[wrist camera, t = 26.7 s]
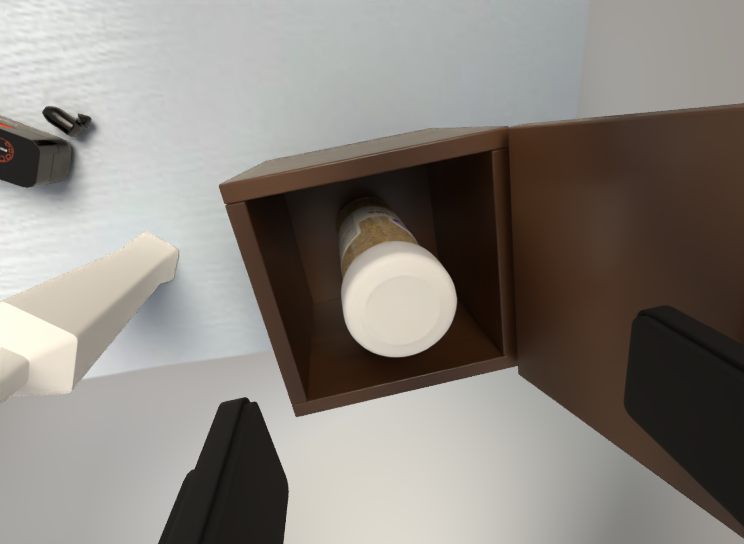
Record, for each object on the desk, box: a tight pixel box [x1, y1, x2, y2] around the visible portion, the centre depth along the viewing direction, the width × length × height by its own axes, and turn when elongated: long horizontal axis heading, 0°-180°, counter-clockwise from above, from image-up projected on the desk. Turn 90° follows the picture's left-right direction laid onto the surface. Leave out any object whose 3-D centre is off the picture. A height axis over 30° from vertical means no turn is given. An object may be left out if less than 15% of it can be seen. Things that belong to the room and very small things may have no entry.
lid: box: [508, 103, 744, 538], centre depth 12 cm, size 12×12×6 cm
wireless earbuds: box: [0, 106, 91, 188], centre depth 21 cm, size 5×7×3 cm, turn 67°
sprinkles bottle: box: [336, 197, 457, 357], centre depth 20 cm, size 5×5×14 cm
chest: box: [219, 126, 518, 417], centre depth 22 cm, size 12×12×12 cm
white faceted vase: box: [0, 231, 179, 405], centre depth 19 cm, size 5×4×15 cm
